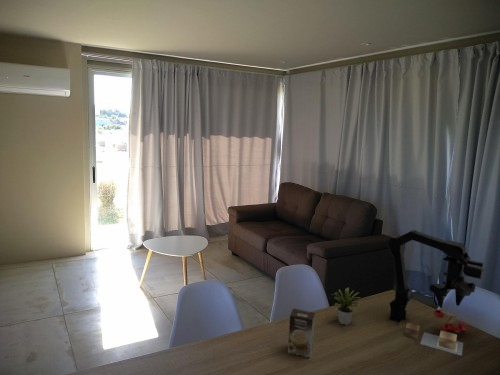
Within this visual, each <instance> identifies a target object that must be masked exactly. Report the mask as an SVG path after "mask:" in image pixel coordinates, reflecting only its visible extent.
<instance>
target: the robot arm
mask: <svg viewBox="0 0 500 375" xmlns="http://www.w3.org/2000/svg"><path fill="white" fill-rule="evenodd" d="M411 241H414V242H417V243H420V244H423V245H425V246H428V247H431V248H433V249H437V250H439V251H441V252H442V253H444V255H446V256H444V257H443V258H442V261H446V262H447V264H446V271H444V272H443V275H444V276H445V277H444V281H443V280H442V284H440V283H432V284H429V291H430V292H431V293H433V294H434V296H435V299H436V302H437V304H438V307H439V308H440V309H442V308H443V306H444V301H445V300H444V299H445V298H446V297H447V296H448V295H447V294H448V291H455V293H454V294H455V305H456V306H458V307H459V306H460V304H461V303H462V301H463V300H464V298H465V297H466V296H467V297H468V296H470V295H471V294H472V293H475V290H476V284H475V283H474V282H468V281H465V278H464V276H463V274H464V275H465V276H466V277H470V278H473V279H477V280H482V279H483V277H484V271H485V269H484V262H481V261H476V260H471V256H469V254H468V252H467V247H466V246H465V244H463V242H459V241H452V240H443V239H441V238H438V237H435V236H433V235H428V234H426V233H423V232H420V231H417V229H412V230H409V231H408V232H406V233H404V234H402V235H400V234H399V235H398V234H396V235H394V236H392V237H391V238H389V240H388V242H387V246H388V248H389V252H390V253H391V255H392V258H393V267H394V272H395V274H394V275H395V282H396V288H395V293H394V294H395V295H394V299H392V300H391V301H390V302H389V307H390V314H389V317H388V320H391V321H395V322H401V321H402V320H404V321H406V319H407V317H408V316H407V315H408V310H407V306H408V305H409V303H410V302H412V300H413V298H414V294H413V288H410V287H409V285H408V283H407V282H408V281H407V280H408V279H407V273H406V266H405V265H406V263H405V249H406V244H407V243H409V242H411ZM462 273H463V274H462Z"/></svg>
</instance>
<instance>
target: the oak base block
mask: <svg viewBox="0 0 500 375" xmlns="http://www.w3.org/2000/svg"><path fill="white" fill-rule="evenodd" d="M438 336H439V345H438V346H441V347H444V348H448V349H451V350H455V347H456V341H457V338H458V335H457V334H456V333H454V332H447V331H446V332H445V331H443V330H440V333H439V335H438Z"/></svg>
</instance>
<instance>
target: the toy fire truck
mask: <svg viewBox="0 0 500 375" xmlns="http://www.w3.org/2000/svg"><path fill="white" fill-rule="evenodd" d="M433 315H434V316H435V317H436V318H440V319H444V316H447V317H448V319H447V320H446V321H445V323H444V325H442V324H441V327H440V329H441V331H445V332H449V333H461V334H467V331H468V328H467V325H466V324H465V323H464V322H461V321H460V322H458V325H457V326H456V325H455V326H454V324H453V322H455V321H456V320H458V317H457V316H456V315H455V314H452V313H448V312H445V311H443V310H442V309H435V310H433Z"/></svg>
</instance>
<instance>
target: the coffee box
mask: <svg viewBox="0 0 500 375" xmlns="http://www.w3.org/2000/svg"><path fill="white" fill-rule="evenodd" d="M315 318H316V312H312V311H308V310H303V309H297V308H292V310H291V312H290V315H289V328H288V330H289V331H288V348H287V353H288V352H290V353H294V354H298V355H302V356H301V357H303V356H307V357H310V356H311V357H312V354H313V349H314V333H315V332H314V331H315V320H316V319H315ZM290 353H289V354H290ZM311 353H312V354H311ZM294 354H293V355H294ZM298 355H297V356H298ZM307 357H306V358H307ZM311 357H310V358H311Z"/></svg>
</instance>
